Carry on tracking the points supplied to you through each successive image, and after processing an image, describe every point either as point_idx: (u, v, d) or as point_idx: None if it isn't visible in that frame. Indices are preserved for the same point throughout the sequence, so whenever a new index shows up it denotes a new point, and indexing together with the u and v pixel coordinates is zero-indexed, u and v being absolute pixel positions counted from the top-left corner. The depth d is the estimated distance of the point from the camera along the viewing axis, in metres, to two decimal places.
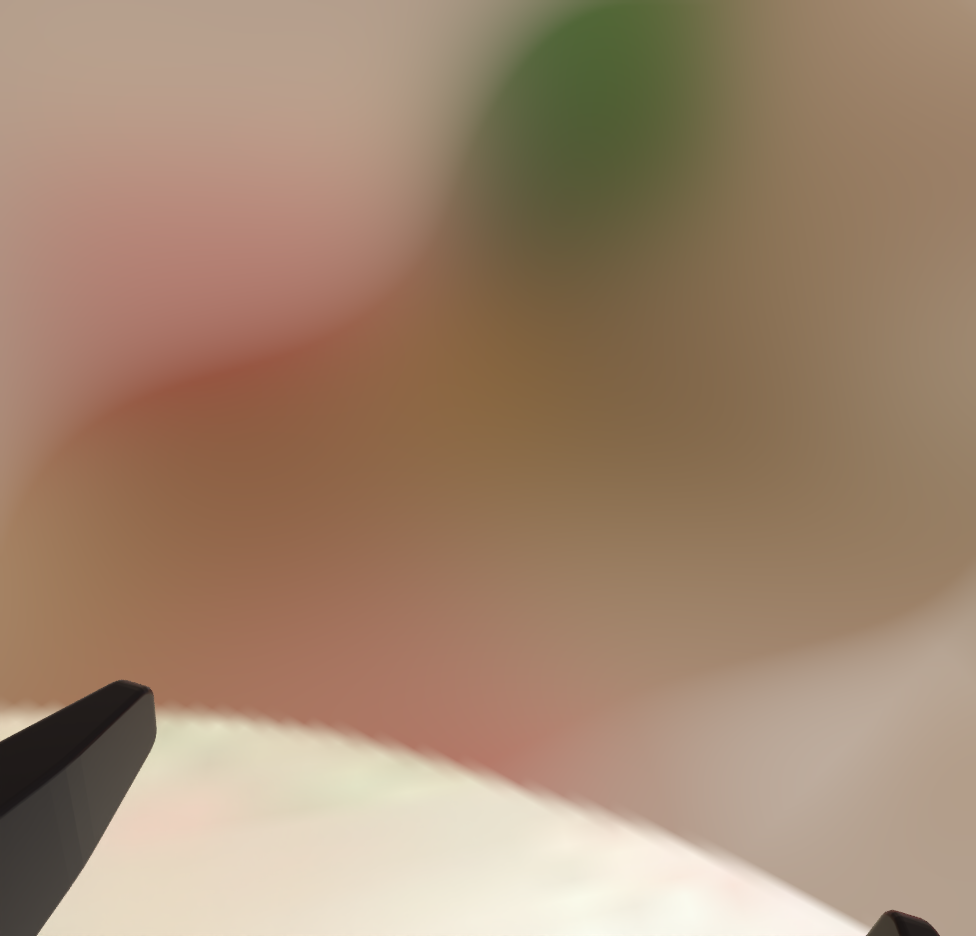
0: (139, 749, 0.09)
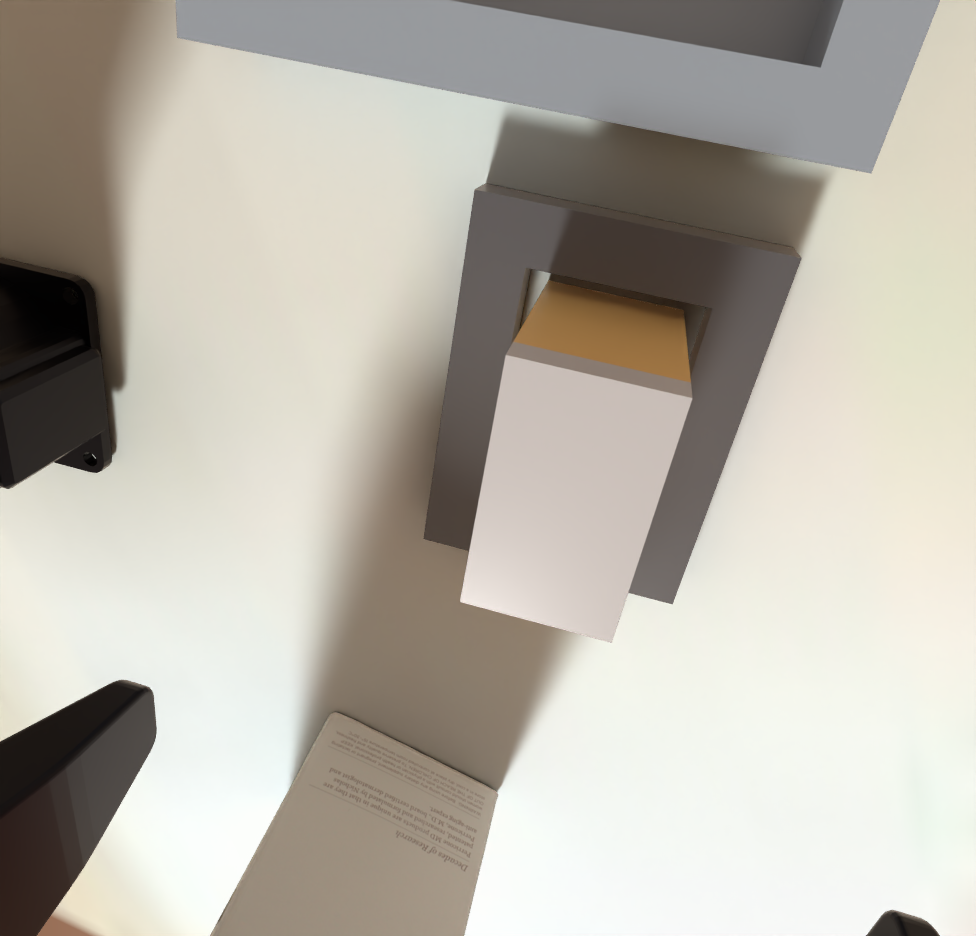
0: (139, 749, 0.09)
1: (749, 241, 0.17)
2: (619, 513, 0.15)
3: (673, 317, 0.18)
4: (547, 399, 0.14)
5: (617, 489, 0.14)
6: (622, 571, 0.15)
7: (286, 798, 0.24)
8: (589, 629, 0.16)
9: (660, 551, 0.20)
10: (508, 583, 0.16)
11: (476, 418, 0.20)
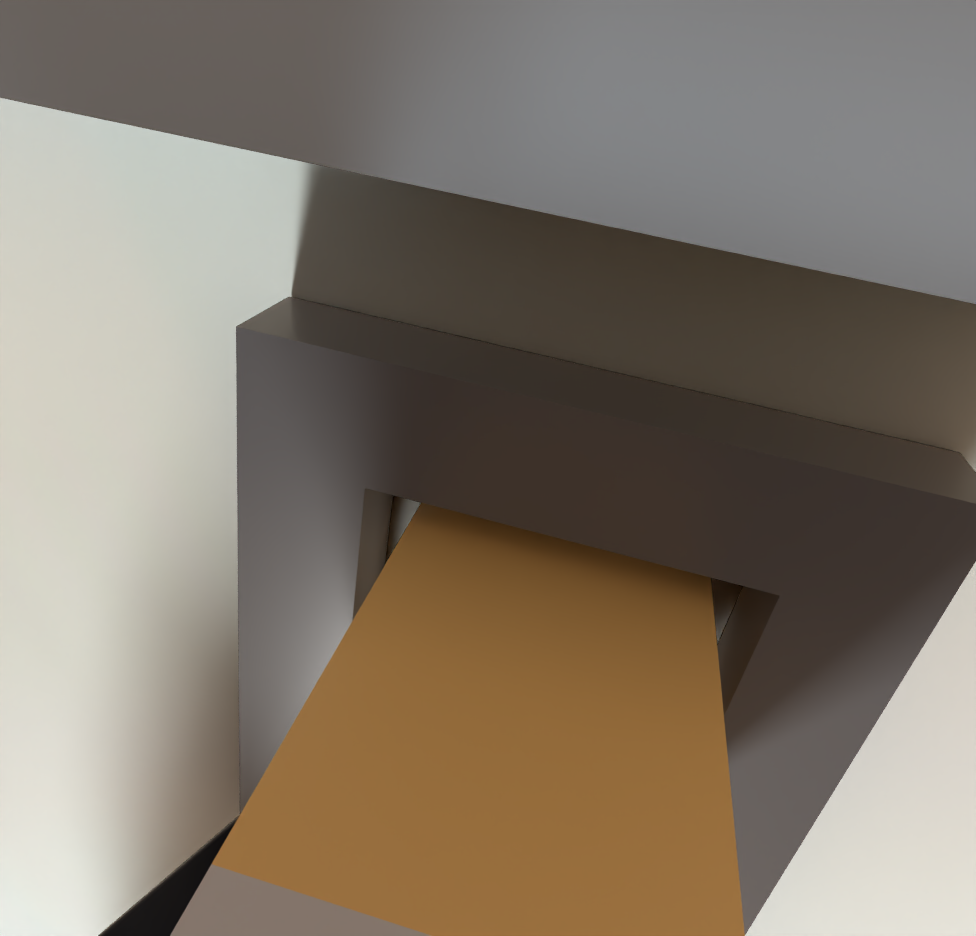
0: None
1: (865, 446, 0.07)
2: None
3: (688, 594, 0.08)
4: None
5: None
6: None
7: None
8: None
9: None
10: None
11: None
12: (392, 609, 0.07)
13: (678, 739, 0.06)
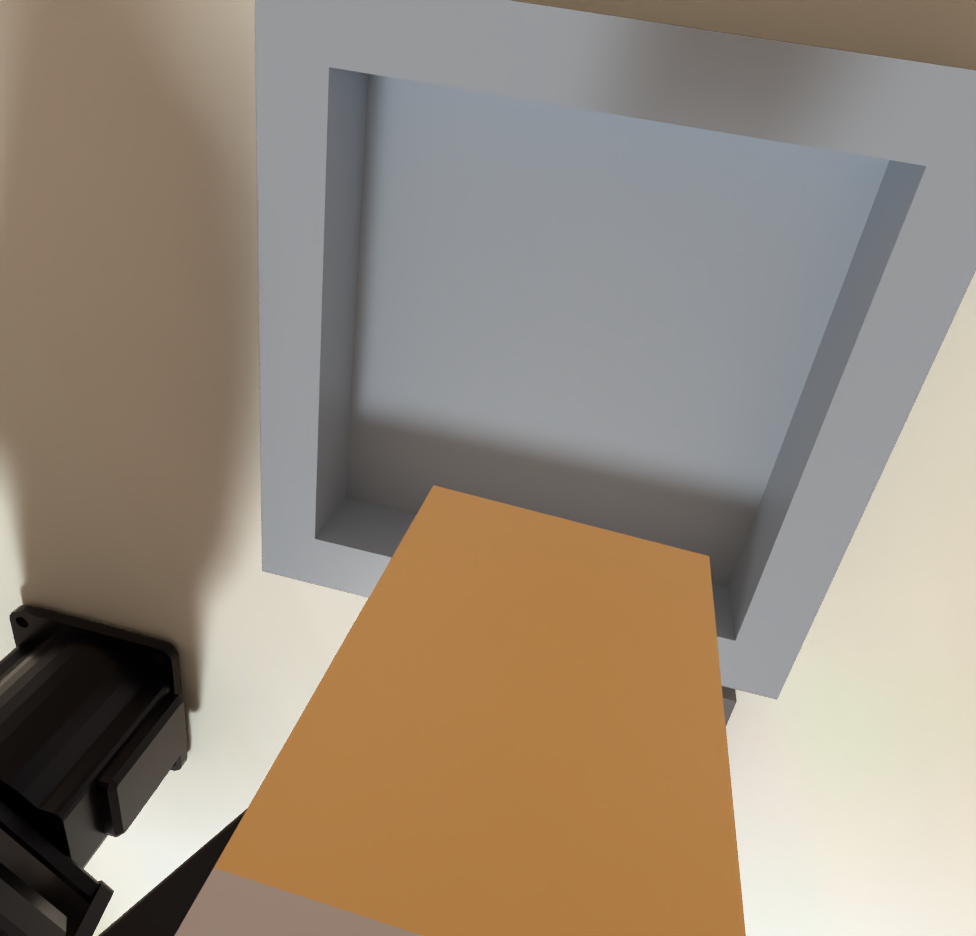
0: None
1: None
2: None
3: (688, 596, 0.08)
4: None
5: None
6: None
7: None
8: None
9: None
10: None
11: None
12: (393, 612, 0.07)
13: (679, 742, 0.06)
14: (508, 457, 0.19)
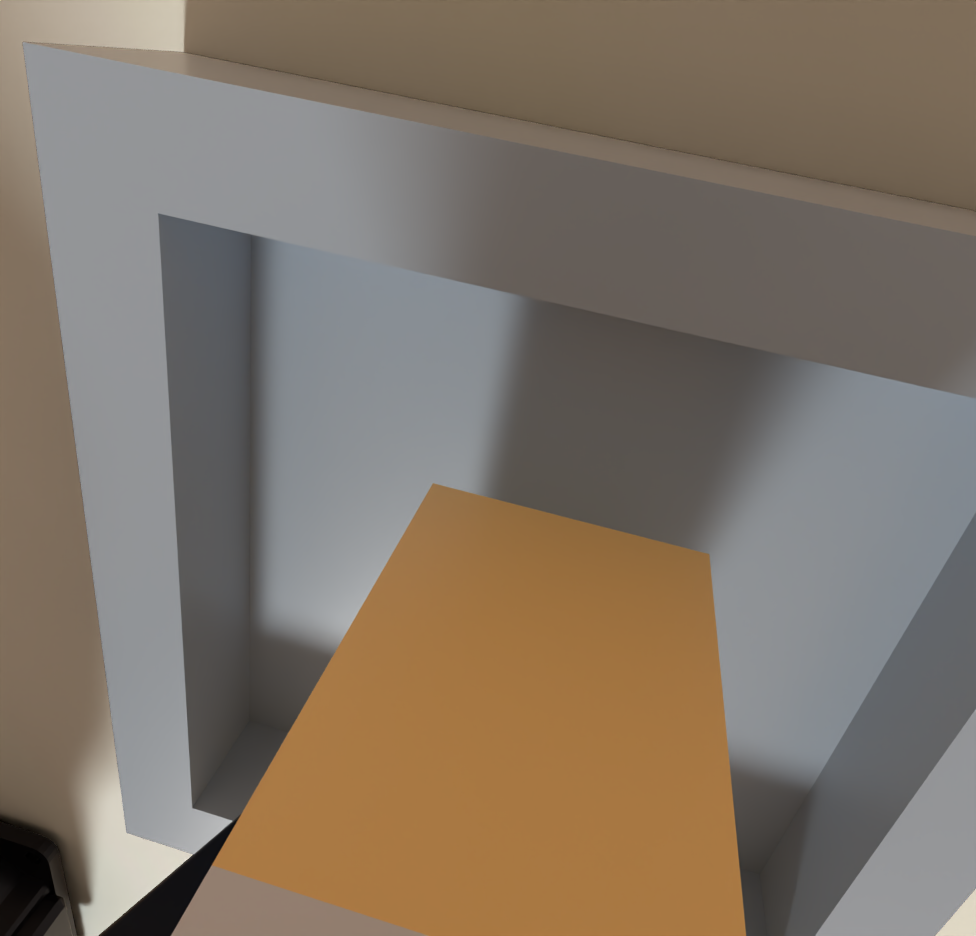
0: None
1: None
2: None
3: (688, 594, 0.08)
4: None
5: None
6: None
7: None
8: None
9: None
10: None
11: None
12: (392, 609, 0.07)
13: (679, 739, 0.06)
14: None
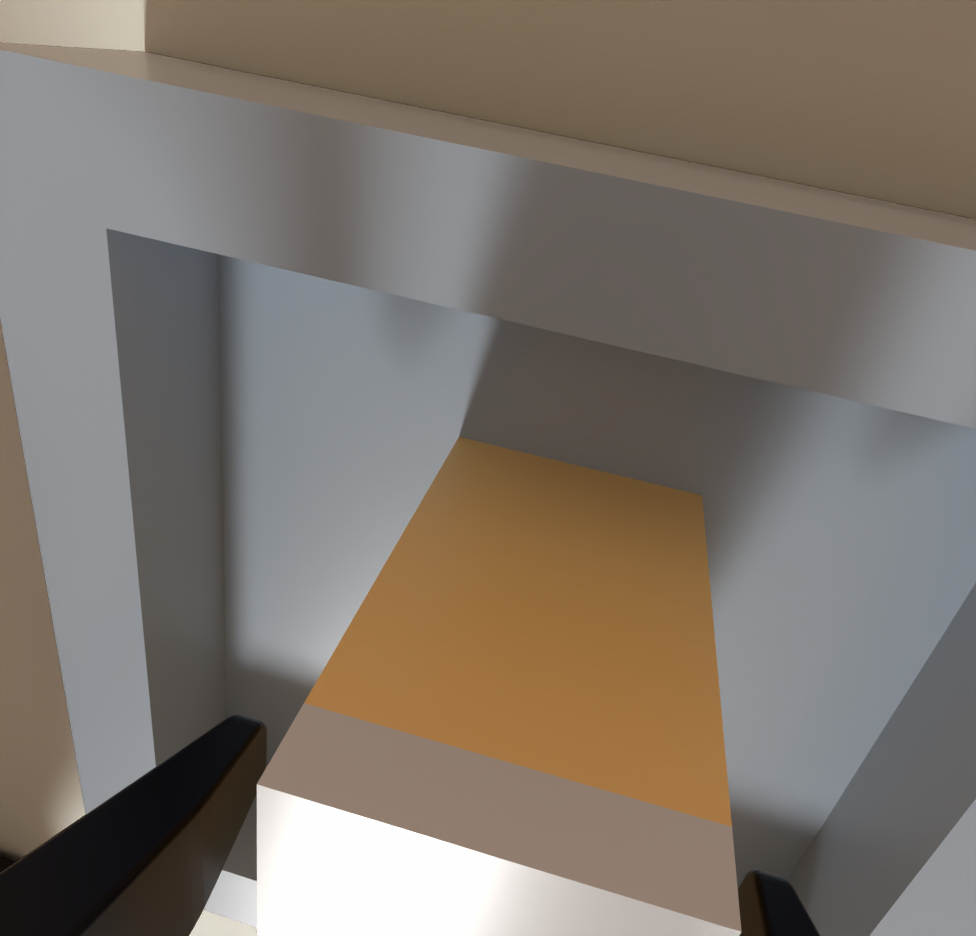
0: (252, 784, 0.09)
1: None
2: None
3: (683, 525, 0.09)
4: (373, 877, 0.06)
5: None
6: None
7: None
8: None
9: None
10: None
11: None
12: (431, 532, 0.08)
13: (674, 630, 0.07)
14: None
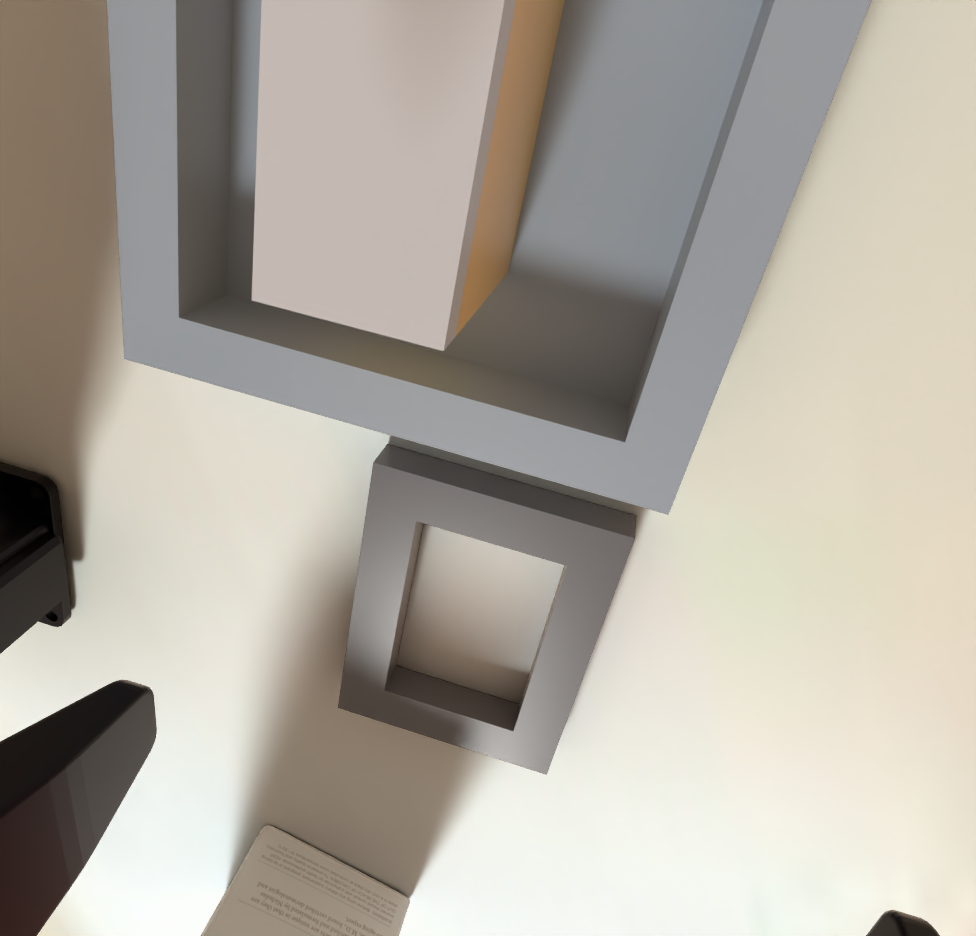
0: (139, 749, 0.09)
1: (598, 512, 0.21)
2: (437, 135, 0.11)
3: None
4: None
5: (431, 94, 0.11)
6: (447, 233, 0.11)
7: (216, 914, 0.28)
8: (414, 331, 0.12)
9: (534, 734, 0.24)
10: (308, 264, 0.12)
11: (379, 623, 0.23)
12: None
13: None
14: None
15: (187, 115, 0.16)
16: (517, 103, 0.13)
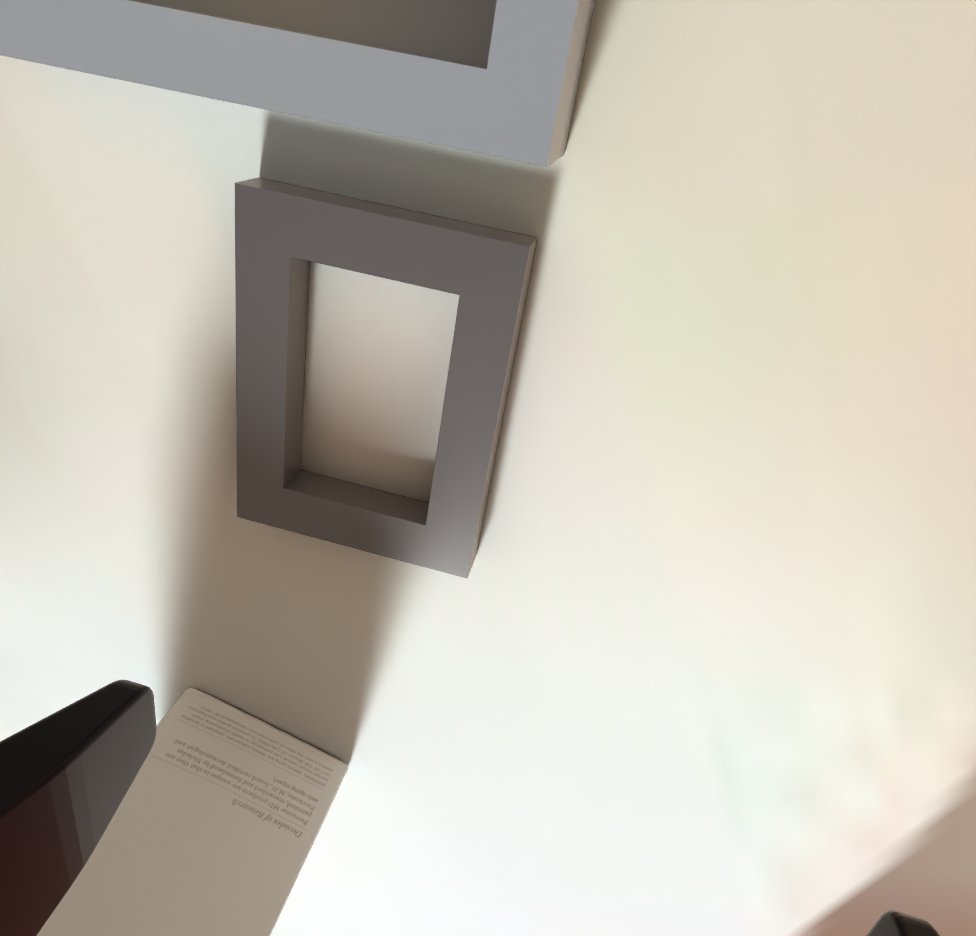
0: (139, 749, 0.09)
1: (492, 232, 0.18)
2: None
3: None
4: None
5: None
6: None
7: None
8: None
9: (448, 526, 0.21)
10: None
11: (267, 400, 0.21)
12: None
13: None
14: None
15: None
16: None
